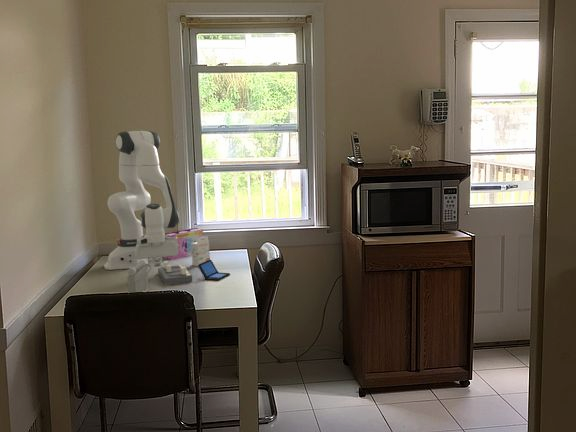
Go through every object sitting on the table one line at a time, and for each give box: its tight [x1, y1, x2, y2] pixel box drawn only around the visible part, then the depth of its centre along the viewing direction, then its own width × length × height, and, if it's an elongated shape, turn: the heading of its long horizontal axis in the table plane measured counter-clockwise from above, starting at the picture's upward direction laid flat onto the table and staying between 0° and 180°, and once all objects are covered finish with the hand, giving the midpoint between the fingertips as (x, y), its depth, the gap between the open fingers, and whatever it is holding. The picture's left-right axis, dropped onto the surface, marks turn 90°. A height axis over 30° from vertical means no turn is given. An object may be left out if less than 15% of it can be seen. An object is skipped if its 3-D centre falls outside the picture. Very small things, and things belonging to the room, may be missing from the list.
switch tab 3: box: [180, 266, 187, 275], centre depth 275 cm, size 2×3×3 cm, turn 20°
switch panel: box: [157, 264, 193, 286], centre depth 282 cm, size 12×24×3 cm, turn 20°
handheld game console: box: [197, 259, 231, 282], centre depth 279 cm, size 12×11×7 cm
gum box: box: [163, 227, 204, 260], centre depth 331 cm, size 24×8×14 cm, turn 135°
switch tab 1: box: [163, 260, 170, 269], centre depth 288 cm, size 2×3×3 cm, turn 20°
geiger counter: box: [126, 260, 152, 293], centre depth 250 cm, size 14×6×25 cm
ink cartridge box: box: [191, 235, 211, 267], centre depth 307 cm, size 9×5×15 cm, turn 143°
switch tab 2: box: [166, 264, 172, 272], centre depth 280 cm, size 2×3×3 cm, turn 20°
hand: (157, 266), depth 286 cm, fingers closed
